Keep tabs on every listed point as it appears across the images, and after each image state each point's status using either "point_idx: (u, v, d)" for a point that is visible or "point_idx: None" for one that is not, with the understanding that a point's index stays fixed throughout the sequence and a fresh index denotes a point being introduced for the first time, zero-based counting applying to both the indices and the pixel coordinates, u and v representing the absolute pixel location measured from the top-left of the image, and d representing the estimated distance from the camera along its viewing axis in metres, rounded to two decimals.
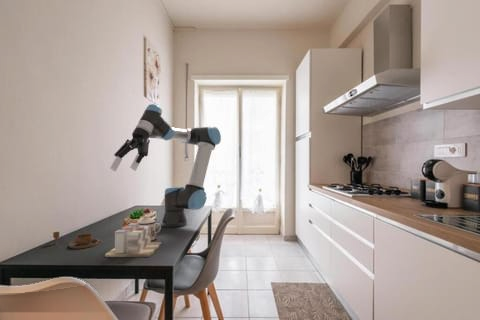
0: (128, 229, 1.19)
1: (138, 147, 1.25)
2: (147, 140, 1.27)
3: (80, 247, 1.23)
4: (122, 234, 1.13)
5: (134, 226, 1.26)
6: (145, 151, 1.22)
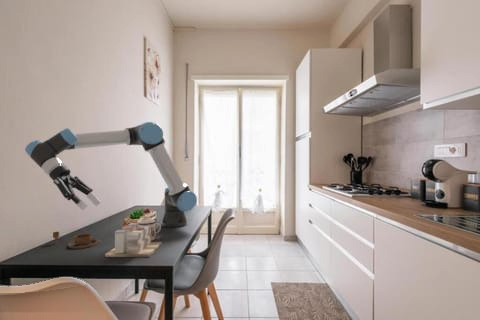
0: (128, 229, 1.19)
1: None
2: (56, 181, 1.14)
3: (79, 247, 1.23)
4: (122, 234, 1.13)
5: (134, 226, 1.26)
6: (65, 194, 1.13)
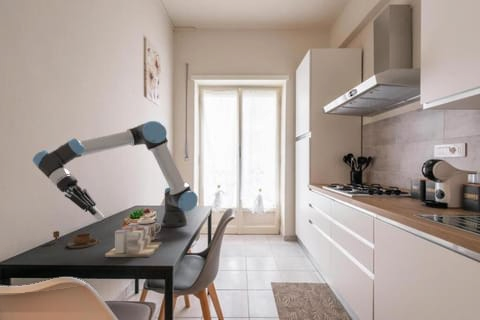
0: (128, 229, 1.19)
1: None
2: (68, 195, 1.15)
3: (78, 247, 1.23)
4: (122, 234, 1.13)
5: (134, 226, 1.26)
6: (82, 207, 1.17)
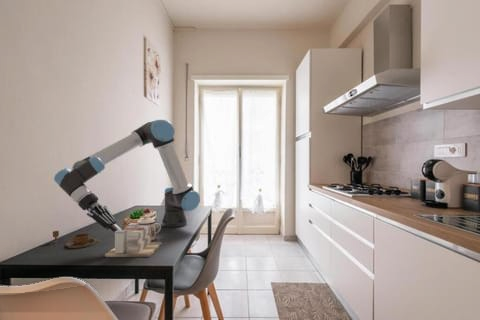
0: (131, 229, 1.19)
1: None
2: (91, 214, 1.15)
3: (76, 247, 1.24)
4: (122, 234, 1.13)
5: None
6: (104, 225, 1.17)
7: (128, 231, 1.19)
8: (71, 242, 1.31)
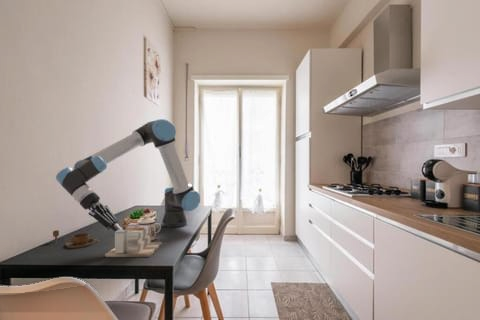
0: (132, 229, 1.19)
1: None
2: (92, 213, 1.15)
3: (75, 247, 1.24)
4: (122, 234, 1.13)
5: None
6: (105, 225, 1.17)
7: (129, 231, 1.19)
8: (71, 242, 1.31)
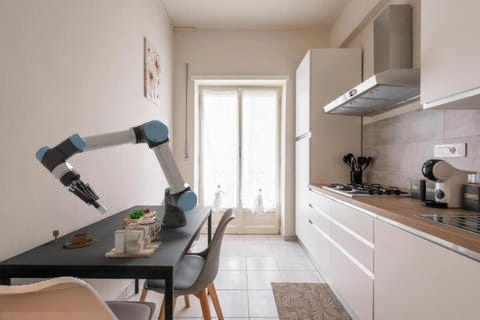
0: (131, 229, 1.19)
1: None
2: (72, 189, 1.17)
3: (74, 246, 1.24)
4: (122, 234, 1.13)
5: None
6: (86, 200, 1.19)
7: (129, 231, 1.19)
8: (70, 242, 1.31)
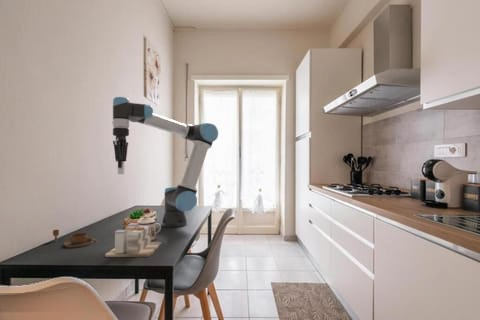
0: (131, 229, 1.19)
1: None
2: (115, 143, 1.35)
3: (72, 246, 1.24)
4: (122, 234, 1.13)
5: None
6: (116, 157, 1.37)
7: (129, 231, 1.19)
8: (70, 241, 1.32)
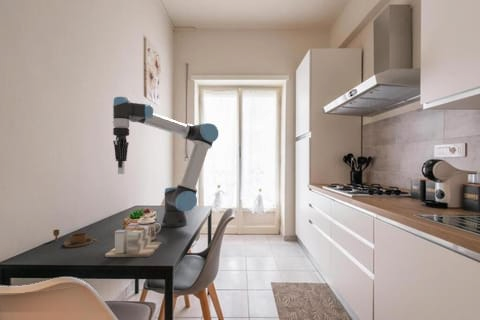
0: (131, 229, 1.19)
1: None
2: (115, 143, 1.36)
3: (72, 246, 1.25)
4: (122, 234, 1.13)
5: None
6: (117, 157, 1.37)
7: (129, 231, 1.19)
8: (69, 241, 1.32)
